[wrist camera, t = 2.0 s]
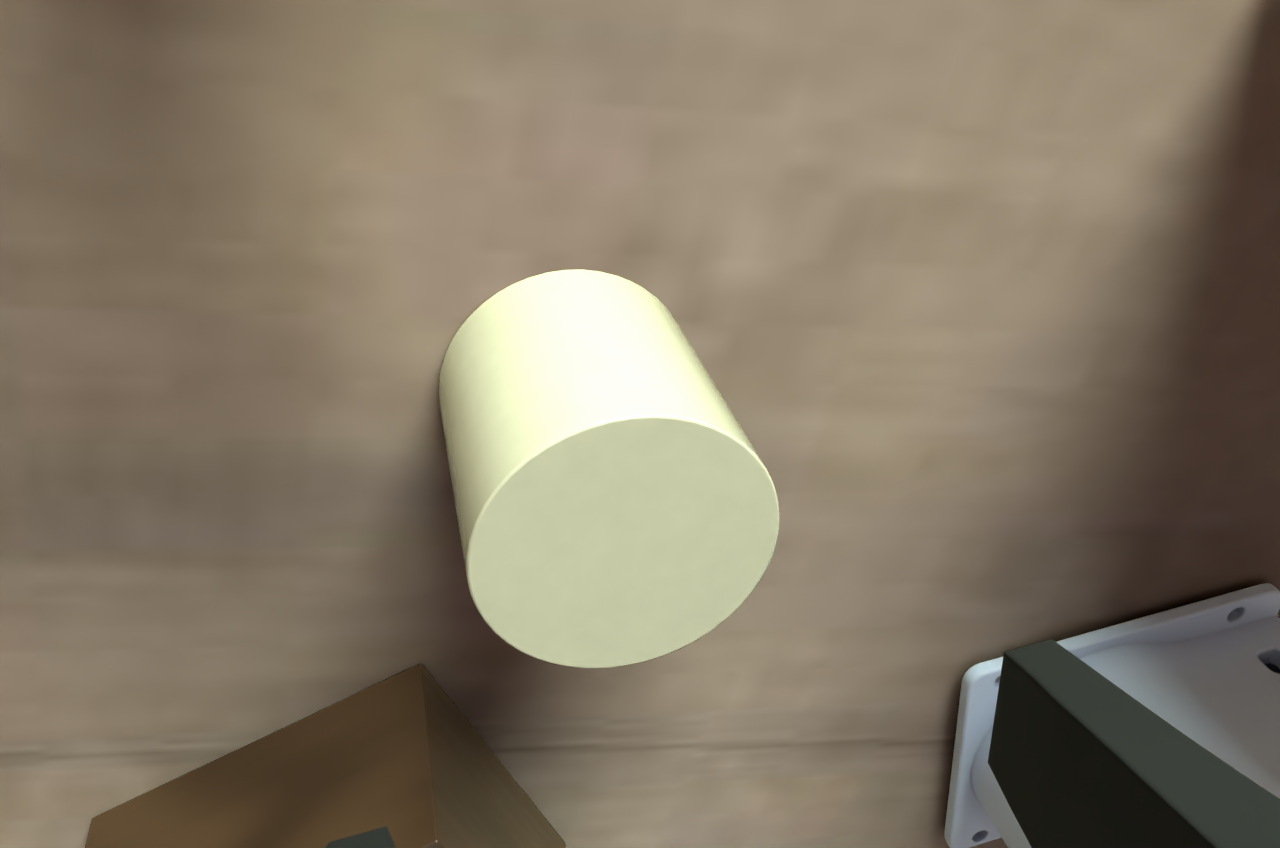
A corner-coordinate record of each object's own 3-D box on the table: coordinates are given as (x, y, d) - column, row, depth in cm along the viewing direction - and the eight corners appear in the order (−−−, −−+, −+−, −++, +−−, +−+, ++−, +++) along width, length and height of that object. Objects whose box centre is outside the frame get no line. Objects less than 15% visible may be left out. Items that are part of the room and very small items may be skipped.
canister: (677, 244, 18) (776, 382, 14) (697, 457, 21) (784, 625, 17) (411, 298, 17) (433, 461, 13) (467, 512, 20) (500, 701, 16)
